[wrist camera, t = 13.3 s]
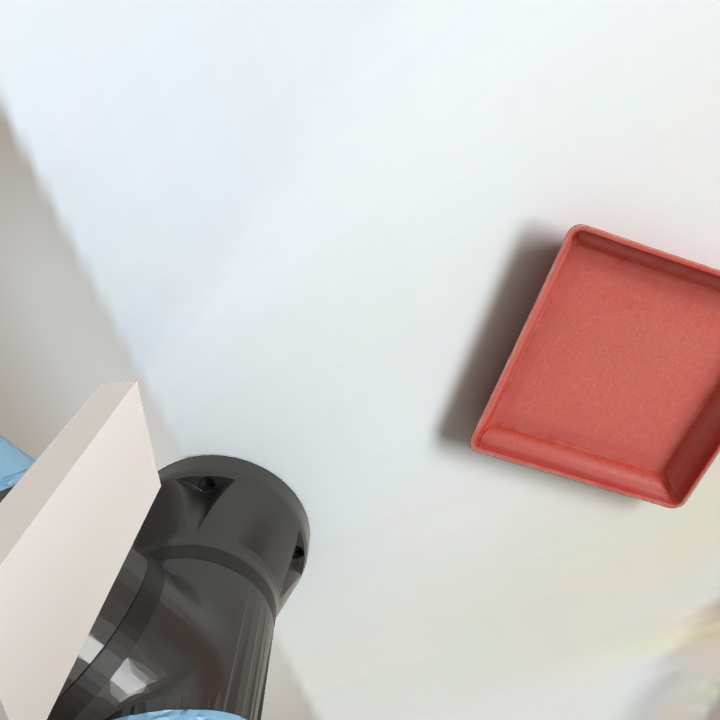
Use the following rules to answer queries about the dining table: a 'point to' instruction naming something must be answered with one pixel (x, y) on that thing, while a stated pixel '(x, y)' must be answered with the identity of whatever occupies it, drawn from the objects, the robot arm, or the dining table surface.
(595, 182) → the dining table surface
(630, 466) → the plant saucer
